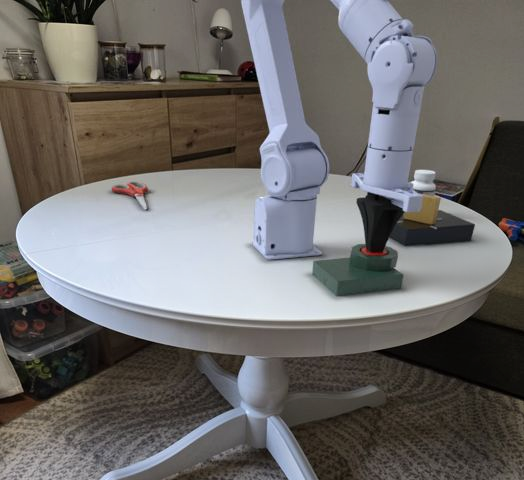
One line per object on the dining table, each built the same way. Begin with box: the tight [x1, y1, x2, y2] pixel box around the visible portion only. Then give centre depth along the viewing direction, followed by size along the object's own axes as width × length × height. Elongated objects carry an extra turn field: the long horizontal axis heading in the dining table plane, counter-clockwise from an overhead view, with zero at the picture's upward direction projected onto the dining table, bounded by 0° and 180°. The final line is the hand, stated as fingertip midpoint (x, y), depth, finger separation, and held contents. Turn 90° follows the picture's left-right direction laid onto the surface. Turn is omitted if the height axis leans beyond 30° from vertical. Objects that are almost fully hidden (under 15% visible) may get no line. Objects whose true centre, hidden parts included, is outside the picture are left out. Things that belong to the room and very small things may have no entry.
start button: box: [361, 247, 387, 256], centre depth 69 cm, size 4×4×2 cm
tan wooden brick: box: [404, 191, 442, 225], centre depth 85 cm, size 6×2×5 cm, turn 49°
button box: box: [311, 243, 405, 297], centre depth 68 cm, size 11×8×4 cm
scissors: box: [111, 181, 149, 211], centre depth 107 cm, size 8×21×2 cm, turn 35°
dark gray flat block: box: [389, 209, 476, 247], centre depth 88 cm, size 14×11×3 cm
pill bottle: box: [410, 169, 437, 196], centre depth 99 cm, size 5×5×9 cm
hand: (374, 250), depth 69 cm, fingers closed, pressing on start button
